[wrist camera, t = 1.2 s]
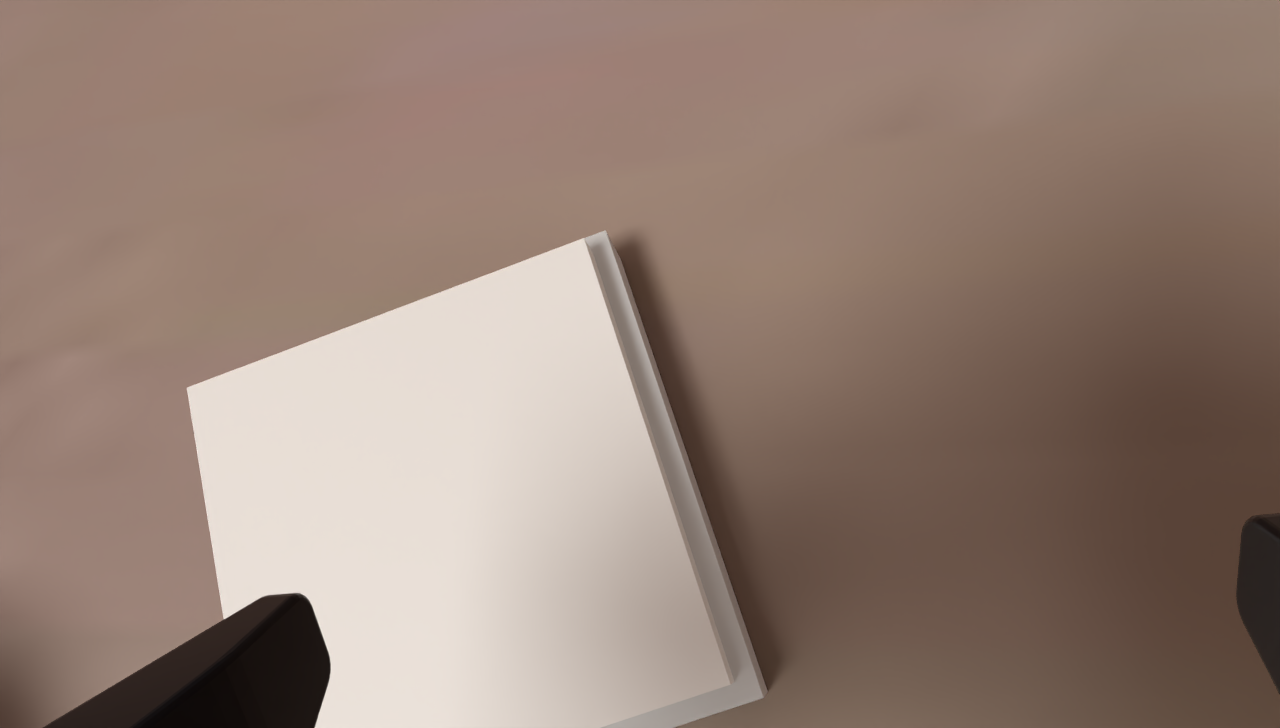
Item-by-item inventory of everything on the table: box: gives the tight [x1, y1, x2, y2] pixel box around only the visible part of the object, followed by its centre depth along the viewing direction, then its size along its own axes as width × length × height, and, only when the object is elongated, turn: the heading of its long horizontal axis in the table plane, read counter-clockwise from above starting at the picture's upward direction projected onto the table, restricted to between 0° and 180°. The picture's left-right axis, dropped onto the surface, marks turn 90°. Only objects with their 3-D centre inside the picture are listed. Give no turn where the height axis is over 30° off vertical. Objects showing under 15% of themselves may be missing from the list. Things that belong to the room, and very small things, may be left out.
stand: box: [187, 230, 768, 728], centre depth 23 cm, size 12×12×3 cm
